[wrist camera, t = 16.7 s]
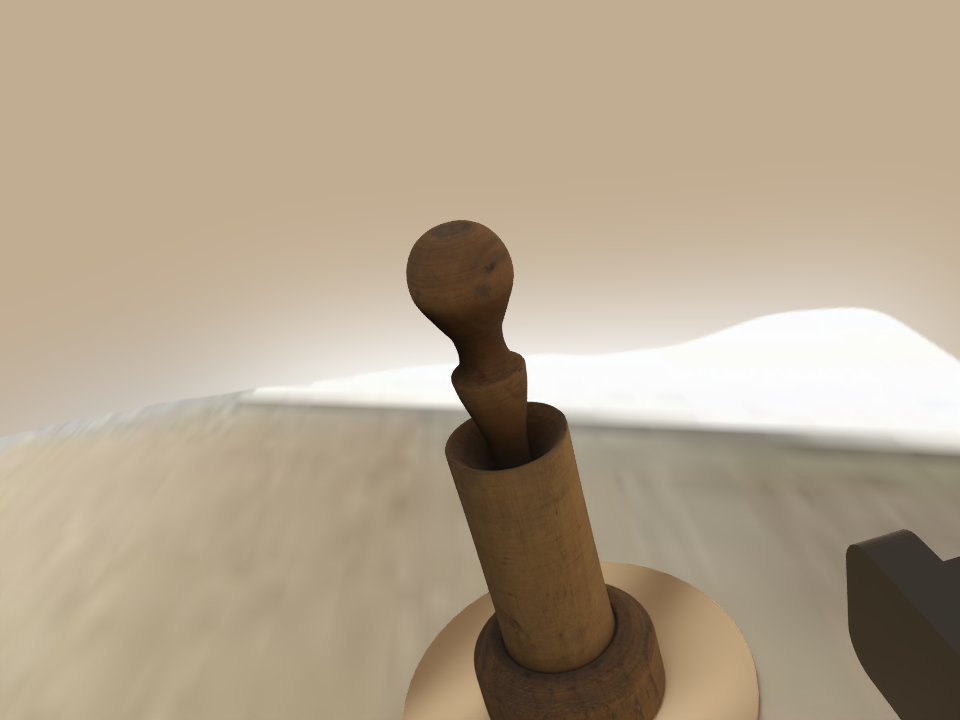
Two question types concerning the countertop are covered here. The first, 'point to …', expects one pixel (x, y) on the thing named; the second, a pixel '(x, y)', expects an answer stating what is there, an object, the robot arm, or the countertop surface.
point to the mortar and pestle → (528, 512)
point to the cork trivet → (682, 642)
